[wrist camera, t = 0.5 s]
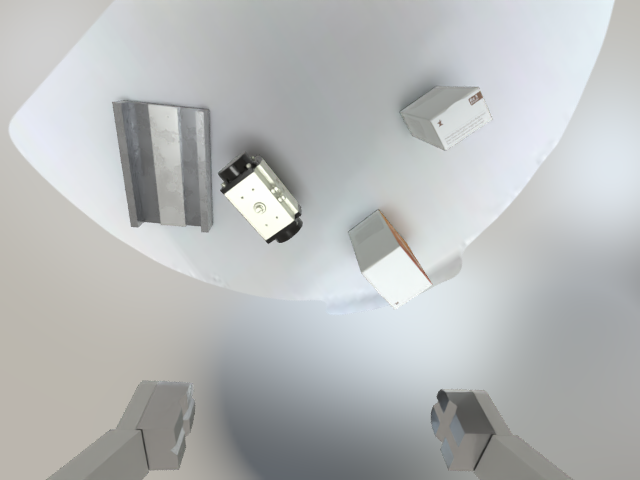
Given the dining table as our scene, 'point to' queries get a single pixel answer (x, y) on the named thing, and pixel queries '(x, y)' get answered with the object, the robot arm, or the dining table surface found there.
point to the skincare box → (446, 115)
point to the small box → (387, 260)
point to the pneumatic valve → (261, 198)
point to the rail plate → (165, 163)
